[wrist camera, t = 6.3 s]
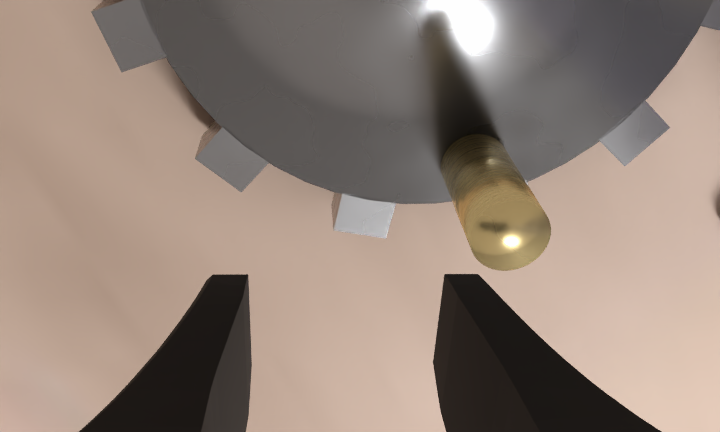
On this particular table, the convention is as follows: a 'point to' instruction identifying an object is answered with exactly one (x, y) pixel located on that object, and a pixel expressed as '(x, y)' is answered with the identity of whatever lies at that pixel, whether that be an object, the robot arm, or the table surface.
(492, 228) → the sprocket
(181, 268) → the table surface
